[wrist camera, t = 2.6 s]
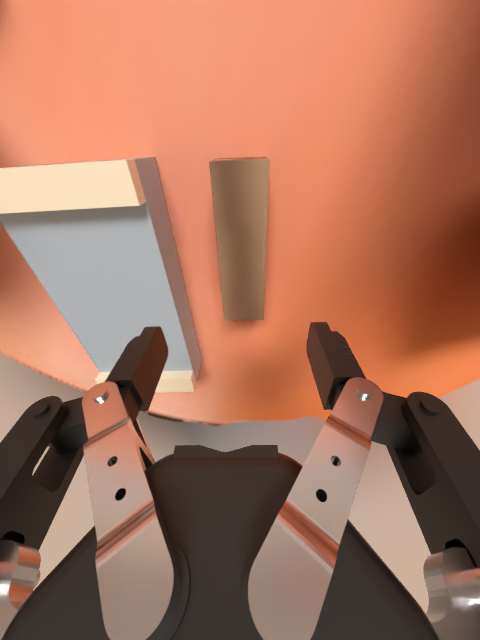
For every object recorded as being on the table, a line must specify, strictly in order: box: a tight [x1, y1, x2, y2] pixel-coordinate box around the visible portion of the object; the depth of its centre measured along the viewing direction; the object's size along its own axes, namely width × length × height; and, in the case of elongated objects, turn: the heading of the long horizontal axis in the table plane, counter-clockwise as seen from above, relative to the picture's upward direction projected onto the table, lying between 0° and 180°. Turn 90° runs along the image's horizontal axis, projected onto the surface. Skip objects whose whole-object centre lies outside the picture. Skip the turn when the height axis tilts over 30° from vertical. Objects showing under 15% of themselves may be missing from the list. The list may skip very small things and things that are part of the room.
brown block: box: [209, 157, 270, 320], centre depth 24 cm, size 4×15×6 cm, turn 2°
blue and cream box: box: [0, 157, 202, 392], centre depth 28 cm, size 14×28×6 cm, turn 3°
